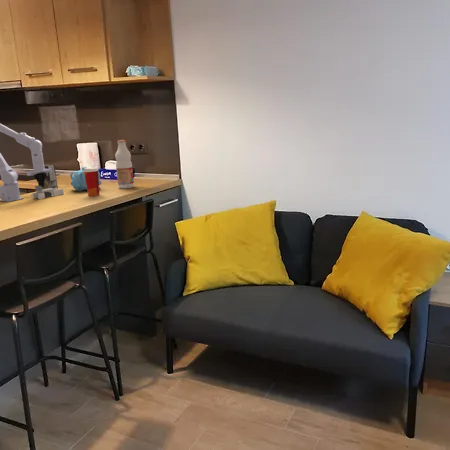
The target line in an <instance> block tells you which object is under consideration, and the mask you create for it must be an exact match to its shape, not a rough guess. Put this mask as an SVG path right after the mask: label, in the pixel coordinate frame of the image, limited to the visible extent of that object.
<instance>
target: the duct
mask: <svg viewBox="0 0 450 450" xmlns="http://www.w3.org/2000/svg"><path fill="white" fill-rule="evenodd" d="M46 192H51V195H52V196H53V197H57V196H62V195H64V194H65V193H64V188H59V187H58V188H55V190H51V191H46ZM44 193H45V192H32V193H31V196H32V200H34V199H38V200H42V199H46V198H45V195H44Z"/></svg>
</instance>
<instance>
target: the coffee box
mask: <svg viewBox="0 0 450 450" xmlns="http://www.w3.org/2000/svg"><path fill="white" fill-rule="evenodd" d="M44 167H45V169H52V172H48V173H45V174H47V176H46V178H45V182H44V187H42V189H48V188H53V189H55V188H58V189H59V186H58V181H57V180H58V179H57V174H56V173H57V172H56V166H55V164H44ZM39 173H42V172H39ZM37 184H38V183H37ZM37 186H39V184H38V185H37Z"/></svg>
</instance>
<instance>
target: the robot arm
mask: <svg viewBox="0 0 450 450" xmlns="http://www.w3.org/2000/svg"><path fill="white" fill-rule="evenodd" d="M0 132H1V133H2V134H5V135H7V136H9V137H11V138H13V139H14V140H15V141H16V142H17V143H18V144H20V145H22V146H25V147H26V148H29V150H30V152H31V162H32V166H33V167H32V168H33V170H32V171H31V170H30V171H26V176H27V177H30V176H33V177H34V178H35V180H36V181H37V184H39V186H42V187H44V182H45V178H46V176H47V174H45V173H48V172H52V169H45V167H44V165H45V161H44V155H43V143H42V141H41V140H39V139H36V138H35V137H32V136H29V135H28V134H27V133H26V132H17V131H15V130H13V129H11V128H9V127H8V126H6V125H4V124H2V123H0ZM39 172H42V173H39ZM0 179H1V181H2V184H3V185H0V201H1V202H6V203H9V202H13V201H18V200H23V199H24V197H21V194H20V187H19V182H18V179H19V175H18V172H16V171H15V170H14V169H13V168H12V167H11V166H9V164H8V163H7V161H6V160H5V158H4V156H3V155H2V153H1V152H0Z"/></svg>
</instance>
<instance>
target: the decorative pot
mask: <svg viewBox="0 0 450 450" xmlns="http://www.w3.org/2000/svg"><path fill="white" fill-rule="evenodd" d="M85 168H88V167H87V166H82V167H81V169H80V170H75V171H72V172H70V174H69V175H70V179H71V180H72V181H71V182H70V186H72V188H73V189H74V190H75V191H77V192H82V191H83V190H84V191H85V190H86V191H87V186H86V180H85V175H84V172H83V171H84V169H85ZM98 177H99V186H101V185H102V184H103V182H102V180H100V179H101V173H100V171H98Z"/></svg>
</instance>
